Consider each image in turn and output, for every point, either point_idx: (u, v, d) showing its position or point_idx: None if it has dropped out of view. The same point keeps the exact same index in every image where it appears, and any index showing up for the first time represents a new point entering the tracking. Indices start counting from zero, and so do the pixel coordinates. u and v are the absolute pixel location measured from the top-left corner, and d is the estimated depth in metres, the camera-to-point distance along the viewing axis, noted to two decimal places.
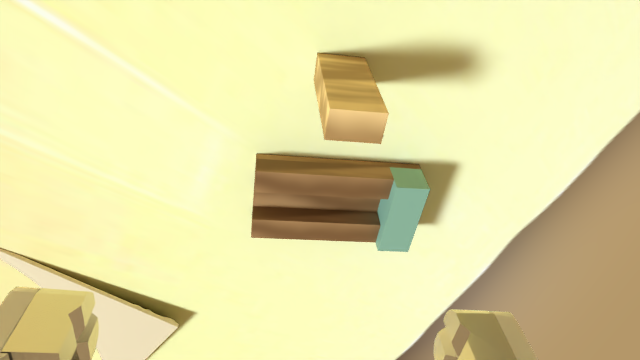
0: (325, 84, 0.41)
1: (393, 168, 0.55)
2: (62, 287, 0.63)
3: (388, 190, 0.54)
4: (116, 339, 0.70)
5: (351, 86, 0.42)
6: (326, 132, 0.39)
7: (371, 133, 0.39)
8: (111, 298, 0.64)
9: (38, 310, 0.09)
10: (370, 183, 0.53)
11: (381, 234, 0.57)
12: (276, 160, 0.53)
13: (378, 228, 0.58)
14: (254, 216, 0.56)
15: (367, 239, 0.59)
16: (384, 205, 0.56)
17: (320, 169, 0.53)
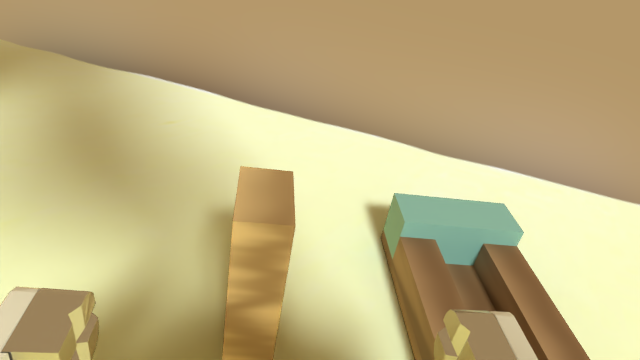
0: None
1: (392, 253, 0.38)
2: None
3: (420, 240, 0.37)
4: None
5: None
6: (281, 224, 0.22)
7: (275, 180, 0.25)
8: None
9: (38, 310, 0.09)
10: (417, 260, 0.35)
11: (494, 233, 0.37)
12: None
13: (490, 245, 0.38)
14: None
15: (517, 255, 0.37)
16: (449, 246, 0.38)
17: (424, 333, 0.30)
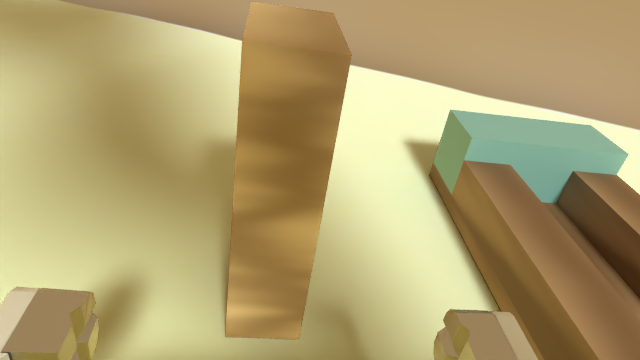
0: (234, 182, 0.15)
1: (450, 187, 0.29)
2: None
3: (491, 164, 0.27)
4: None
5: None
6: (326, 52, 0.13)
7: (308, 16, 0.16)
8: None
9: (38, 310, 0.09)
10: (493, 185, 0.25)
11: (589, 155, 0.28)
12: None
13: (582, 173, 0.28)
14: None
15: (621, 184, 0.28)
16: (528, 174, 0.28)
17: (522, 276, 0.21)
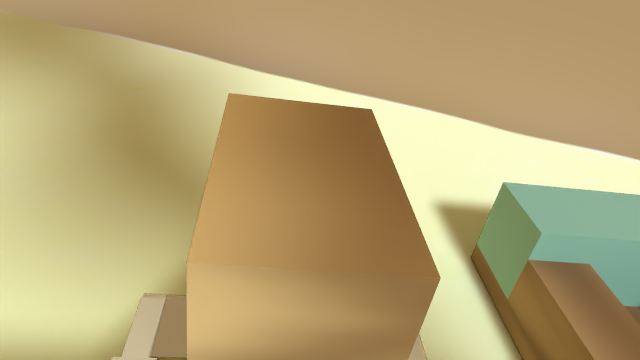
0: None
1: (505, 288, 0.22)
2: None
3: (565, 266, 0.20)
4: None
5: None
6: (383, 273, 0.06)
7: (330, 126, 0.09)
8: None
9: (172, 316, 0.09)
10: (576, 307, 0.18)
11: None
12: None
13: None
14: None
15: None
16: (611, 275, 0.21)
17: None
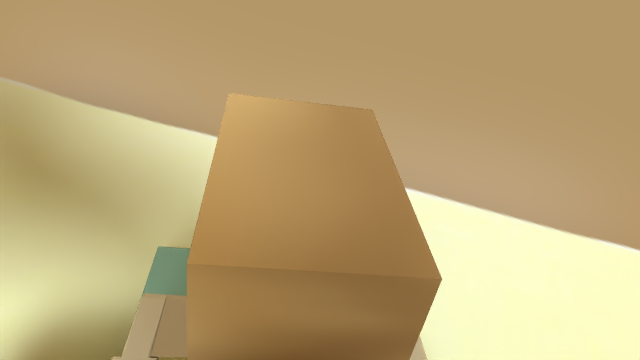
0: None
1: None
2: None
3: None
4: None
5: None
6: (384, 274, 0.06)
7: (331, 126, 0.09)
8: None
9: (172, 316, 0.09)
10: None
11: None
12: None
13: None
14: None
15: None
16: None
17: None
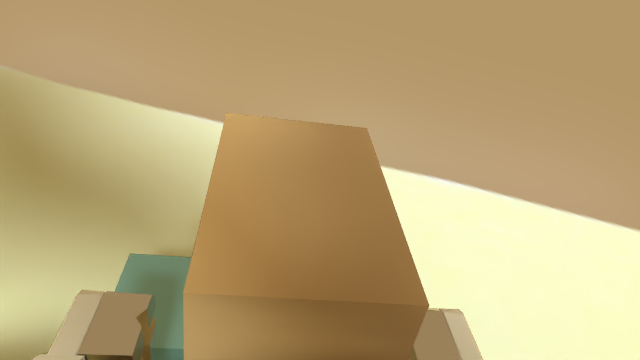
0: None
1: None
2: None
3: None
4: None
5: None
6: (373, 300, 0.06)
7: (325, 147, 0.09)
8: None
9: (107, 313, 0.09)
10: None
11: None
12: None
13: None
14: None
15: None
16: None
17: None
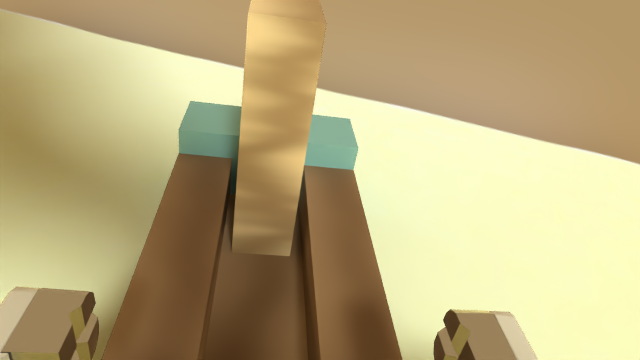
0: (241, 120, 0.20)
1: None
2: None
3: (207, 158, 0.26)
4: None
5: None
6: (308, 21, 0.18)
7: None
8: None
9: (38, 310, 0.09)
10: (184, 179, 0.24)
11: (315, 149, 0.27)
12: None
13: (313, 167, 0.27)
14: None
15: (347, 180, 0.26)
16: None
17: None
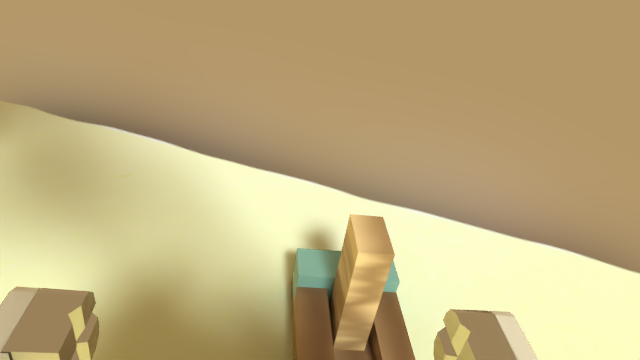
0: (347, 292, 0.39)
1: (293, 299, 0.47)
2: None
3: (313, 289, 0.45)
4: None
5: (344, 272, 0.41)
6: (385, 254, 0.37)
7: (374, 223, 0.40)
8: None
9: (38, 310, 0.09)
10: (305, 308, 0.43)
11: None
12: None
13: None
14: None
15: (393, 301, 0.46)
16: None
17: None
